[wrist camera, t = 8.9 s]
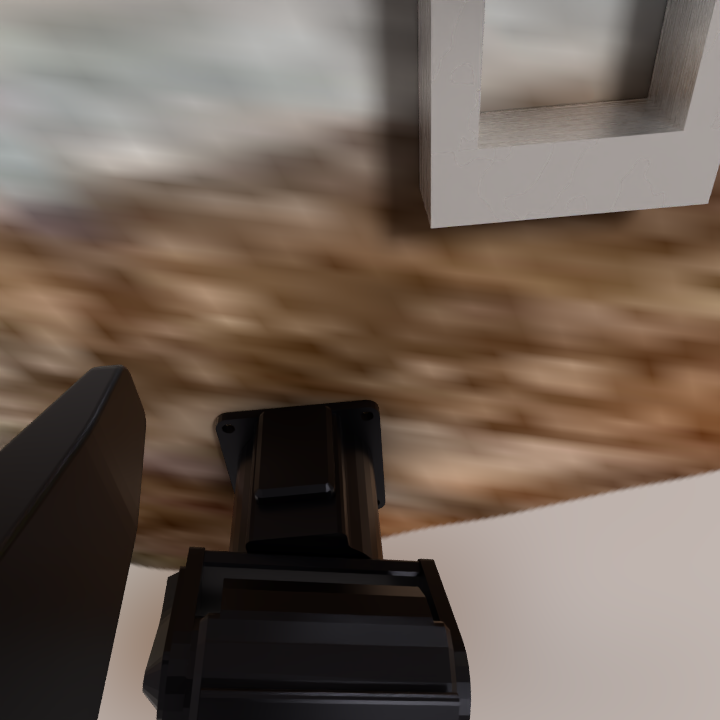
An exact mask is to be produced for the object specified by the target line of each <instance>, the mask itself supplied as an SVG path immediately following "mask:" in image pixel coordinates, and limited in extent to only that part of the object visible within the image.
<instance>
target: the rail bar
mask: <svg viewBox="0 0 720 720" xmlns="http://www.w3.org/2000/svg"><path fill="white" fill-rule="evenodd" d="M484 13H485V0H418V69H419V174H420V192H421V195H422V199H423V202H424V206H425V209H426V213H427V216H428V220H429V224H430V227H431V228H441V227H452V226H463V225H474V224H485V223H497V222H508V221H519V220H530V219H541V218H552V217H563V216H575V215H586V214H597V213H608V212H619V211H630V210H641V209H653V208H664V207H675V206H686V205H697V204H708V201H709V198H710V195H711V191H712V188H713V184H714V181H715V177H716V174H717V171H718V167H719V164H720V0H668V1H667V6H666V11H665V16H664V21H663V25H662V30H661V35H660V40H659V45H658V50H657V55H656V59H655V64H654V69H653V74H652V79H651V84H650V88H649V93H648V98H641V99H629V100H618V101H607V102H596V103H584V104H573V105H562V106H551V107H539V108H528V109H517V110H506V111H494V112H483V113H480V95H481V75H482V54H483V34H484Z"/></svg>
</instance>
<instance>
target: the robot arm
mask: <svg viewBox="0 0 720 720" xmlns="http://www.w3.org/2000/svg"><path fill="white" fill-rule="evenodd" d="M363 412H370V413H368V414H364V413H363ZM226 424H230V425H233V426H227V425H226ZM145 432H146V418H145V412H144V409H143V406H142V403H141V401H140V398H139V395H138V393H137V390H136V387H135V385H134V382H133V379H132V377H131V374H130V372H129V371H128V369H127V368H126V367H125V366H123V365H111V366H100V367H94V368H92V369H90V370H89V371H88V372H87V373H86V374H84V375H83V376H82V377H81V378H80V379H79V380H78V381H77V382H76V383H74V384H73V385H72V386H71V387H70V388H69V389H68V390H67V391H66V392H65V393H63V394H62V395H61V396H60V397H59V398H58V399H57V400H56V401H55V402H54V403H52V404H51V405H50V406H49V407H48V408H47V409H46V410H45V411H44V412H43V413H41V414H40V415H39V416H38V417H37V418H36V419H35V420H34V421H33V422H31V423H30V424H29V425H28V426H27V427H26V428H25V429H24V430H23V431H22V432H20V433H19V434H18V435H17V436H16V437H15V438H14V439H13V440H12V441H11V442H9V443H8V444H7V445H6V446H5V447H4V448H3V449H2V450H1V451H0V720H97V719H98V714H99V709H100V704H101V700H102V694H103V690H104V686H105V680H106V676H107V671H108V666H109V661H110V657H111V652H112V648H113V643H114V638H115V633H116V628H117V624H118V619H119V614H120V609H121V604H122V600H123V595H124V590H125V585H126V581H127V576H128V571H129V567H130V562H131V557H132V552H133V548H134V542H135V537H136V531H137V524H138V515H139V503H140V492H141V480H142V468H143V456H144V444H145ZM216 432H217V435H218V439H219V442H220V446H221V449H222V452H223V456H224V459H225V463H226V466H227V470H228V473H229V476H230V480H231V483H232V487H233V490H234V494H235V497H234V507H233V517H232V528H231V538H230V548H229V552H228V551H208V550H205V548H201V547H190V548H189V553H188V558H187V563H186V567H182V566H180V571H179V572H178V573H176V574H174V575H172V576H170V577H168V580H167V586H166V592H165V597H164V603H163V609H162V614H161V619H160V623H159V627H158V630H157V634H156V637H155V640H154V644H153V647H152V650H151V654H150V657H149V660H148V664H147V667H146V670H145V675H144V681H143V693H144V694H145V695H146V697H147V698H148V699H149V701H150V702H151V703H152V705H153V706H154V707H155V708H156V710H157V720H470V707H471V687H470V675H469V665H468V660H467V654H466V650H465V647H464V643H463V640H462V637H461V634H460V632H459V629H458V626H457V623H456V620H455V618H454V615H453V612H452V609H451V606H450V604H449V601H448V598H447V595H446V593H445V590H444V587H443V584H442V581H441V579H440V576H439V573H438V570H437V568H436V565H435V562H434V560H433V559H432V560H431V559H418V561H404V560H385V559H383V553H382V543H381V533H380V523H379V513H378V509H380V508H382V507H383V506H384V505H385V488H384V473H383V458H382V443H381V428H380V414H379V407H378V405H377V404H376V403H375V402H373V401H371V400H362V401H351V402H340V403H329V404H318V405H307V406H296V407H285V408H274V409H263V410H252V411H241V412H230V413H224V414H221V415H220V416H219V417H218V418H217V422H216Z"/></svg>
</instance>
